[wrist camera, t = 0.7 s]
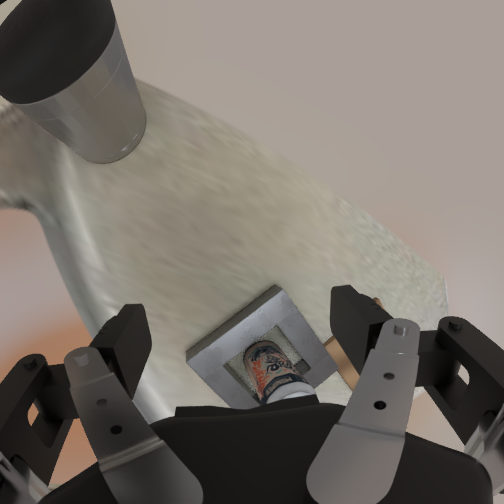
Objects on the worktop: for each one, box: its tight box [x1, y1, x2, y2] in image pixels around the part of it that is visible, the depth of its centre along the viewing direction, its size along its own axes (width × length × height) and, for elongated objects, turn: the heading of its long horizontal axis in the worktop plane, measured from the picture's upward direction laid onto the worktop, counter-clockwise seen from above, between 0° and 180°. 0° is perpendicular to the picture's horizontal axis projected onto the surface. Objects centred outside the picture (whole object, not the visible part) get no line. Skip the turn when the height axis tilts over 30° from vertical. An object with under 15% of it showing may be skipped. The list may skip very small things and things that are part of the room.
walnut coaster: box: [323, 298, 384, 391], centre depth 36 cm, size 10×10×1 cm
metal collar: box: [186, 285, 339, 409], centre depth 32 cm, size 13×13×3 cm
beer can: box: [244, 341, 316, 405], centre depth 28 cm, size 5×5×12 cm
